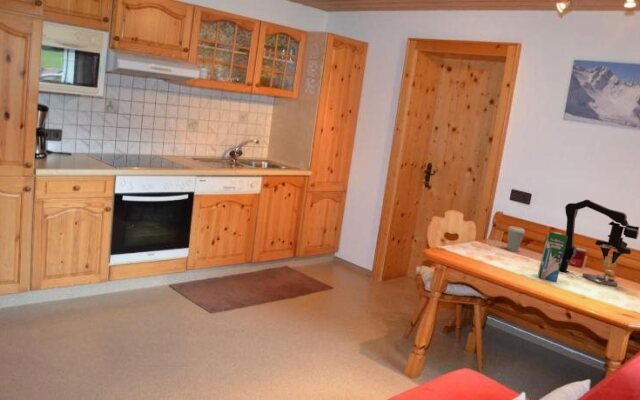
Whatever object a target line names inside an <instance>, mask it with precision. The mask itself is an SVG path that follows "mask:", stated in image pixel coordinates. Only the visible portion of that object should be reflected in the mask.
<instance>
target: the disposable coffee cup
mask: <svg viewBox="0 0 640 400" xmlns="http://www.w3.org/2000/svg"><path fill="white" fill-rule="evenodd" d="M507 231H508V232H507V244H506V247H507V250H508V251H511V252H518V251H519V249H520V246H521V243H522V241H523V238H524V235H525V233H526V231H525V229H524V228H522V227H520V226H514V225H510V226H509V227H508V228H507Z"/></svg>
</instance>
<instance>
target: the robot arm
mask: <svg viewBox="0 0 640 400" xmlns="http://www.w3.org/2000/svg"><path fill="white" fill-rule="evenodd" d="M564 208H565V209H564V210H565V215H566V232H565V235H566V236H568V239H567V243H566V247H565V251H564V255H563V258H562V262H561V266H560V270H559V272H561V273H569V270H568V268H569V260H570V259H571V258H573V257H574V256H575V254H576V248H578V247H577V246H575V245H574V242H575V241H574V240H575V228H576V227H575V226H576V217H577V216H578V213H579V210H582V209H584V208H588V209H591V210H593V211H596V212H597V213H600V214H603V215H605V216H606V217H608V218H610V219H611V220H612V221H611V222H609V223H608V225H609V226H611V229H610V234H608V235H607V237H608V240H607V241H606V240H602V239H597V240H596V241H595V244H594V245H596V246H599V248H600V250H601V253H602V257H603V260H604V259H605V256H609V253H610V251H611V249H613V251H612V256H611V257H612V263H616V261H617V260H618V259H619V257H620V256H621V255H624V254H625V255H630V254H631V252H632V250H631V249H630V248H628V243H627V242H625V241H624V238H623V237H622V236H624V237H625V238H629V239H632V240H637V239H638V236H639V233H640V232H639V230H640V226H634V225H630V223H629V222H628V220H627V219H628V218H627V217H628V216H627V214H626V213H625V212H623V211H618V210H613V209H610V208H607V207H605V206H603V205H601V204H598V203H596V202H594V201H592V200H590V199H584V200H582V201H578V202H571V203H567V204H566V205H565V207H564Z"/></svg>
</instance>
